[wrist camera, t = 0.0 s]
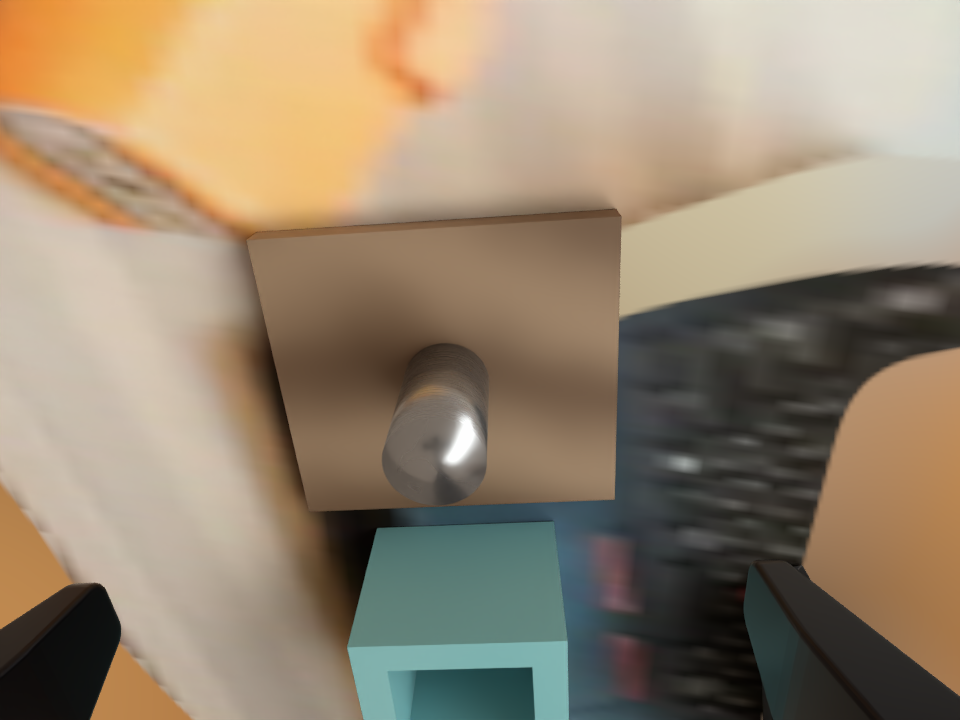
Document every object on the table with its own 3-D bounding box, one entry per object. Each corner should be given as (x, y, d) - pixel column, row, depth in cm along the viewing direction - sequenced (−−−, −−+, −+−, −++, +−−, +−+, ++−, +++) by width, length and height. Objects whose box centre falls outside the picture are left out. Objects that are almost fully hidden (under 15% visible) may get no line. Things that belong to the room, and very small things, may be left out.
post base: (610, 483, 26) (639, 599, 21) (315, 495, 27) (269, 610, 21) (616, 209, 21) (655, 265, 16) (256, 231, 22) (177, 293, 16)
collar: (557, 647, 30) (569, 778, 25) (399, 651, 31) (377, 782, 25) (553, 521, 27) (567, 641, 21) (377, 528, 27) (347, 647, 22)
